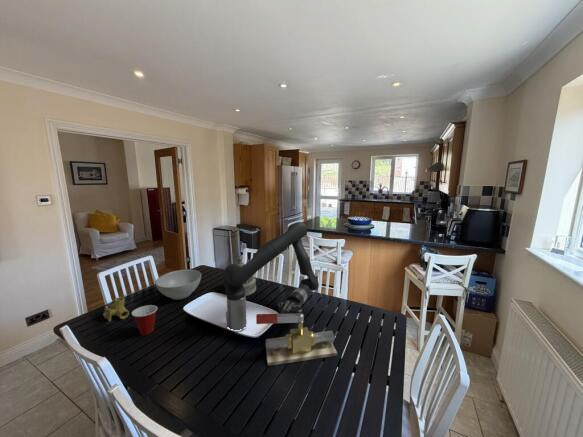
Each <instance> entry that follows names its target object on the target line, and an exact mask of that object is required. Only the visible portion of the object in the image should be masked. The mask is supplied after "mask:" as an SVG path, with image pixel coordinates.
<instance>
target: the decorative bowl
mask: <svg viewBox="0 0 583 437" xmlns="http://www.w3.org/2000/svg"><path fill="white" fill-rule="evenodd" d="M201 279H202V273H201V271H199V270H196V269H180V270H174V271H170V272H168V273H165V274H162V275H160V276H159V277H158V278H157V279H156V280H155V282H154V283H155V287H156V289H157V290H158V291H159V292H160V293H161V294H162V295H163V296H165V297H167V298H170V299H172V300H173V301H174V300H175V301H176V300H177V301H179V300H183V299H186V298H188V297H190V296H191V294H192V293H193V292H194V291H195V290H196V289H197V288H198V286H199V285H200V282H201Z"/></svg>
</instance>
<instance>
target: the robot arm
mask: <svg viewBox="0 0 583 437" xmlns="http://www.w3.org/2000/svg"><path fill="white" fill-rule="evenodd" d="M307 233H308V225H307V224H306V223H305V222H302V221H297V222H293V223H292V224H289V225H288V226H287V231H285V232H284V233H282V234H280V235H278V236H275V237H274V238H272V239H270V240H268V241H267V242H266V243H265V242H264V244H263V245H261V246H260V247H259V248H258V249H257V250H256V252H255V253H254V255H253V257H252V258H251V259H250V260H249V261H247V262H246V263H244V264H245V265H243V266H241V267H240V266H239V265H237V263H231V264H228V265H227V266H226V267H225V269H224V271H223V283H224V284H223V285H224V291H225V292H224V293H225V294H226V308H227V310H226V312H225V317H226V320H225V322H226V328H227V327H229V328H230V329H233V330H240V329H243V328H244V327H246V328H247V326H246V324H247V303H246V300H247V299H246V296H245V289H244V287H243V284H244V283H245V282H246V281H247V280H248V279H249V278H250V277H252V276H253V277H254V275H255V274H256V273H257V272H258V271H260V270H261V269H262V268H263V267H265V266H266V265H268V263H270V262H271V261H273V260H275V259H276V258H277V257H278V256H279V255H280V254H282V253H283V252H284V251H285V250H286V249H288V248H289V247H290V246H291V245H292V247H293V250H294V253H295V257H296V260H297V265H298V267H299V268H298V269H299V272H300V273H299V274H301V275H302V276H306V277H307V278H304V279H301V280H300V282H299V285H298V287H297V288H296V289H295V290H293V291H292V292H291V293H290V294H289V296H288V297H287V299H286V300H284V301H283V302H281V301H280V300H279V301H278V310H279V313H278V314H298V313H303V307H302V305H303V304H304V303H305V302H306V300H307V298H308V297H309V296H310V294H311V292H313V291H314V292H315V291H317V290H318V289H319V286H320V285H319V284H320V283H319V281H318V278H317V276H316V275H315V273H314V271H313V267H312V263H311V259H310V257H309V255H308V252H307V251H306V249H305V248H304V245H303V240H302V239H303V238H304V237H305V236H306V235H307Z"/></svg>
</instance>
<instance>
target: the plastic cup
mask: <svg viewBox="0 0 583 437" xmlns="http://www.w3.org/2000/svg"><path fill="white" fill-rule="evenodd" d="M157 310H158V306H156V305H152V304H149V305H144V306H140V307H139V306H138V308H135V309H134V310H132V312H131V315H132V316H133V318H134V319H133V320H135V323H136V326H137V328H138V329H137V330H138V331H139V333H140V335H141V336H148V335H150V334H151V333H153V332H154V331H155V330H154V329H155V323H156V322H155V321H156V315H157Z"/></svg>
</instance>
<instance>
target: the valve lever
mask: <svg viewBox="0 0 583 437" xmlns="http://www.w3.org/2000/svg"><path fill="white" fill-rule="evenodd" d="M304 316H305V315H304V313H303V312H302V313H298V314H279V313H257V314H256V316H255V318H256V320H255V321H256V322H255V323H256V325H269V324H270V325H273V324H288V323H289V324H292V323H293V324H294V323H295V324H298V323H304V321H305V320H304V318H305V317H304Z"/></svg>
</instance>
